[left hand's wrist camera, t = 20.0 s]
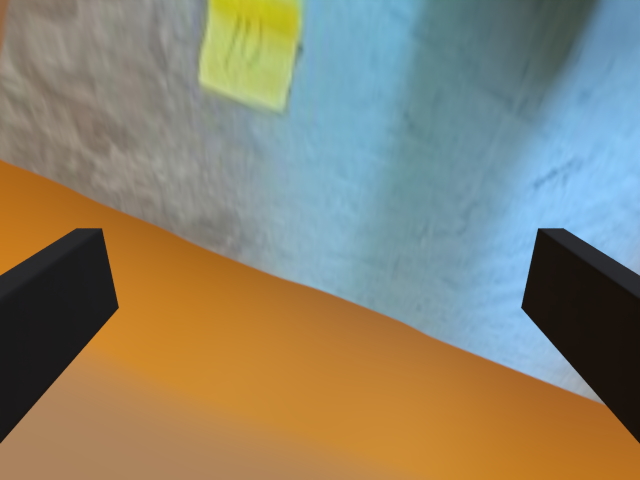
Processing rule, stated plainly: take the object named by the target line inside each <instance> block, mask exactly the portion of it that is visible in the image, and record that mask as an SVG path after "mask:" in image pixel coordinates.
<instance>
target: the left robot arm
mask: <svg viewBox="0 0 640 480" xmlns="http://www.w3.org/2000/svg"><path fill="white" fill-rule="evenodd" d="M118 308H119V306H118V302H117V297H116V292H115V288H114V283H113V278H112V274H111V269H110V264H109V259H108V255H107V250H106V245H105V241H104V236H103V231H102V229H101V228H77V229H75V230H73V231H72V232H70V233H68V234H67V235H65V236H64V237H62V238H60V239H59V240H57V241H55V242H54V243H52V244H51V245H49V246H47V247H46V248H44V249H42V250H41V251H39V252H38V253H36V254H34V255H33V256H31V257H30V258H28V259H26V260H25V261H23V262H22V263H20V264H18V265H17V266H15V267H14V268H12V269H10V270H9V271H7V272H5V273H4V274H2V275H1V276H0V443H1V442H2V441H3V440H4V439H5V438H6V436H7V435H8V434H9V433H10V432H11V431H12V429H13V428H14V427H15V426H16V425H17V424H18V423H19V421H20V420H21V419H22V418H23V417H24V416H25V415H26V413H27V412H28V411H29V410H30V409H31V408H32V406H33V405H34V404H35V403H36V402H37V401H38V400H39V399H40V397H41V396H42V395H43V394H44V393H45V392H46V391H47V389H48V388H49V387H50V386H51V385H52V384H53V383H54V381H55V380H56V379H57V378H58V377H59V376H60V375H61V373H62V372H63V371H64V370H65V369H66V368H67V367H68V365H69V364H70V363H71V362H72V361H73V360H74V359H75V357H76V356H77V355H78V354H79V353H80V352H81V351H82V349H83V348H84V347H85V346H86V345H87V344H88V342H89V341H90V340H91V339H92V338H93V337H94V336H95V334H96V333H97V332H98V331H99V330H100V329H101V328H102V326H103V325H104V324H105V323H106V322H107V321H108V319H109V318H110V317H111V316H112V315H113V314H114V313H115V312H116V310H117V309H118ZM521 308H522V309H523V310H524V312H525V313H526V314H527V315H528V316H529V317H530V318H531V320H532V321H533V322H534V323H535V324H536V325H537V326H538V328H539V329H540V330H541V331H542V332H543V333H544V334H545V336H546V337H547V338H548V339H549V340H550V341H551V342H552V344H553V345H554V346H555V347H556V348H557V349H558V351H559V352H560V353H561V354H562V355H563V356H564V357H565V359H566V360H567V361H568V362H569V363H570V364H571V365H572V367H573V368H574V369H575V370H576V371H577V372H578V373H579V375H580V376H581V377H582V378H583V379H584V380H585V381H586V383H587V384H588V385H589V386H590V387H591V388H592V389H593V391H594V392H595V393H596V394H597V395H598V396H599V397H600V399H601V400H602V401H603V402H604V403H605V404H606V405H607V407H608V408H609V409H610V410H611V411H612V412H613V413H614V415H615V416H616V417H617V418H618V419H619V420H620V421H621V423H622V424H623V425H624V426H625V427H626V428H627V429H628V431H629V432H630V433H631V434H632V435H633V436H634V438H635V439H636V440H637V441H638V442H639V443H640V276H639V275H638V274H636V273H635V272H633V271H631V270H630V269H628V268H627V267H625V266H623V265H622V264H620V263H618V262H617V261H615V260H614V259H612V258H610V257H609V256H607V255H606V254H604V253H602V252H601V251H599V250H598V249H596V248H594V247H593V246H591V245H589V244H588V243H586V242H585V241H583V240H581V239H580V238H578V237H577V236H575V235H573V234H572V233H570V232H568V231H567V230H565V229H564V228H538V231H537V236H536V241H535V245H534V250H533V255H532V259H531V264H530V269H529V274H528V278H527V283H526V288H525V292H524V297H523V302H522V306H521Z"/></svg>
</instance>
